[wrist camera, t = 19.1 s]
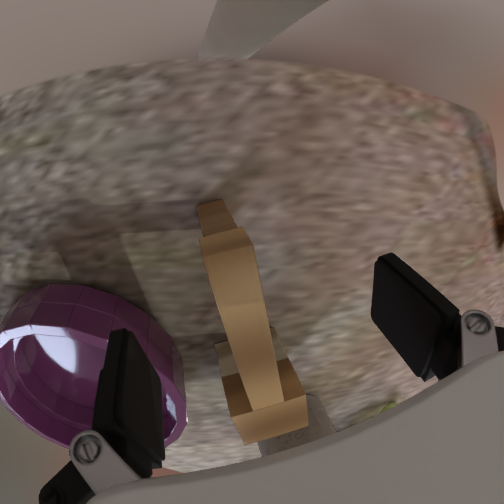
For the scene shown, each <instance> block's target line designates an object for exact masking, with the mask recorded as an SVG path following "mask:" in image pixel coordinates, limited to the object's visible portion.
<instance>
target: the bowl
mask: <svg viewBox="0 0 504 504" xmlns="http://www.w3.org/2000/svg"><path fill="white" fill-rule="evenodd" d="M122 328H126V329H127V330H128V331H132V332H133V333H134V335H135V337H136V338H137V340H138V342H139V344H140V345H141V347H142V349H143V350H144V352H145V354H146V356H147V357H148V359H149V361H150V362H151V364H152V365H153V367H154V369H155V370H156V372H157V374H158V375H159V377H160V380H161V385H162V414H163V432H164V447H167V446H168V445H170V444H171V443H173V442H174V441H175V440H177V439H178V438H179V437H180V435H181V433H182V432H183V430H184V428H185V426H186V425H187V422H188V421H187V403H186V394H185V385H184V374H183V364H182V359H181V357H180V355H179V353H178V351H177V349H176V346H175V344H174V342H173V340H172V338H171V337H170V336H169V335H168V334H167V333H166V332H165V331H164V330H163V329H162V328H161V326H160V325H159V324H158V323H157V322H156V321H155V320H154V319H153V318H152V317H151V316H150V315H149V314H147V313H145V312H144V311H142V310H140V309H139V308H137V307H135V306H134V305H132V304H130V303H129V302H127V301H126V300H124V299H122V298H121V297H118V296H116V295H113V294H109V293H106V292H103V291H100V290H97V289H94V288H91V287H88V286H84V285H66V284H50V285H47V286H44V287H41V288H37V289H34V290H31V291H28V292H26V293H25V294H24V295H23V296H22V297H21V298H20V299H19V300H18V301H16V302H15V303H14V304H13V305H12V306H11V308H10V309H9V311H8V312H7V314H6V316H5V317H4V319H3V320H2V322H1V324H0V401H1V403H2V404H3V405H4V406H5V407H6V408H7V409H8V410H9V411H10V412H11V413H12V414H13V415H14V416H15V417H16V418H17V419H18V420H19V421H20V422H21V423H22V424H24V425H26V426H27V427H28V428H30V429H31V430H32V431H34V432H35V433H37V434H38V435H40V436H42V437H43V438H45V439H47V440H49V441H51V442H54V443H56V444H58V445H60V446H63V447H65V448H67V449H69V447H70V443H71V441H72V439H73V438H74V437H75V436H76V435H77V434H79V433H80V432H82V431H86V430H92V421H93V413H94V405H95V398H96V392H97V385H98V379H99V374H100V371H101V369H103V367H104V361H105V355H106V350H107V345H108V340H109V335H110V332H111V331H113V330H117V329H122Z"/></svg>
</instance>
